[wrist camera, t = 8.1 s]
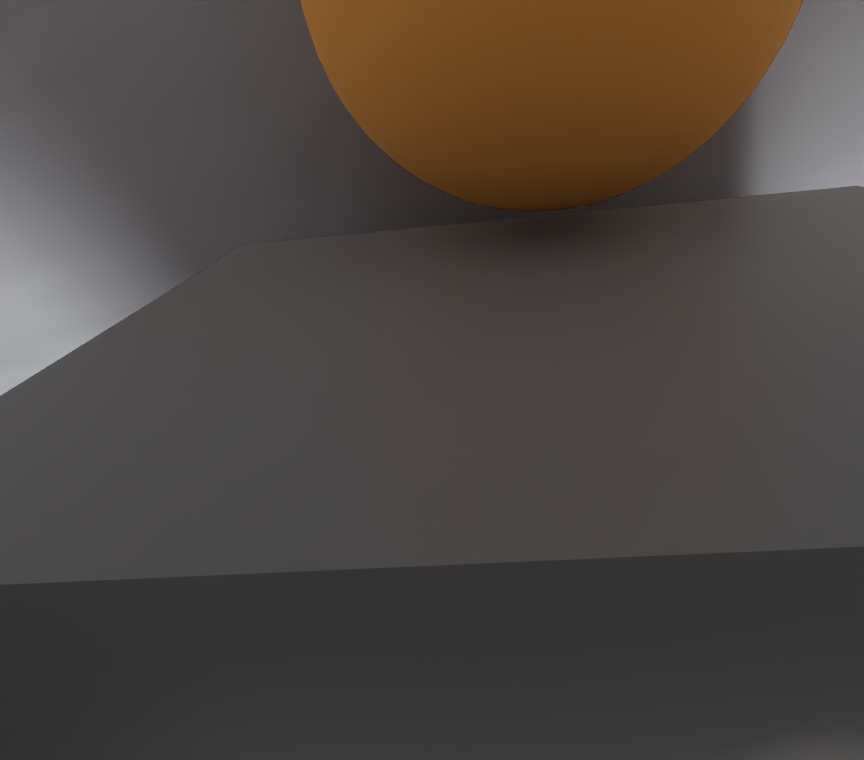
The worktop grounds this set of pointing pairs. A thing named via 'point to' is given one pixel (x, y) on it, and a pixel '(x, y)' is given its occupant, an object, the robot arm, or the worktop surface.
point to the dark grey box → (455, 499)
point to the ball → (544, 87)
